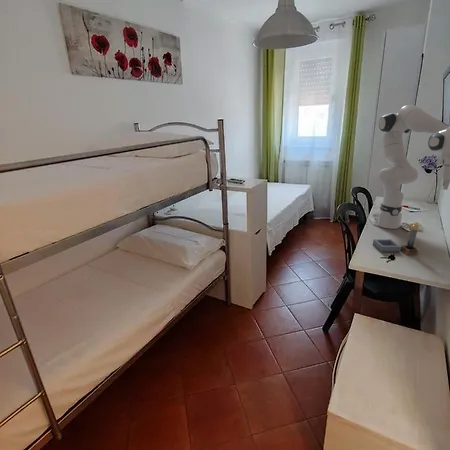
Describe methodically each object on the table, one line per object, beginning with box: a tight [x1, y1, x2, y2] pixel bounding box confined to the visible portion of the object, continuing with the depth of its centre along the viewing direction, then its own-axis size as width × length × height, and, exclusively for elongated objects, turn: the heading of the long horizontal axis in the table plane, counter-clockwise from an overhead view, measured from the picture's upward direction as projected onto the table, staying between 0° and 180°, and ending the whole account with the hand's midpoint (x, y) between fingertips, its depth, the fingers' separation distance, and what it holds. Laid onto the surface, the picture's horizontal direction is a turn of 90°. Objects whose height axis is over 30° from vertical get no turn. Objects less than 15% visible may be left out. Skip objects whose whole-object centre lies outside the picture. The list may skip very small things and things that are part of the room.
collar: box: [400, 244, 420, 256], centre depth 165 cm, size 6×6×3 cm
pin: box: [406, 224, 419, 249], centre depth 163 cm, size 4×4×16 cm
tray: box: [372, 238, 401, 254], centre depth 169 cm, size 10×10×4 cm
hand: (444, 187), depth 154 cm, fingers open, 8 cm apart
